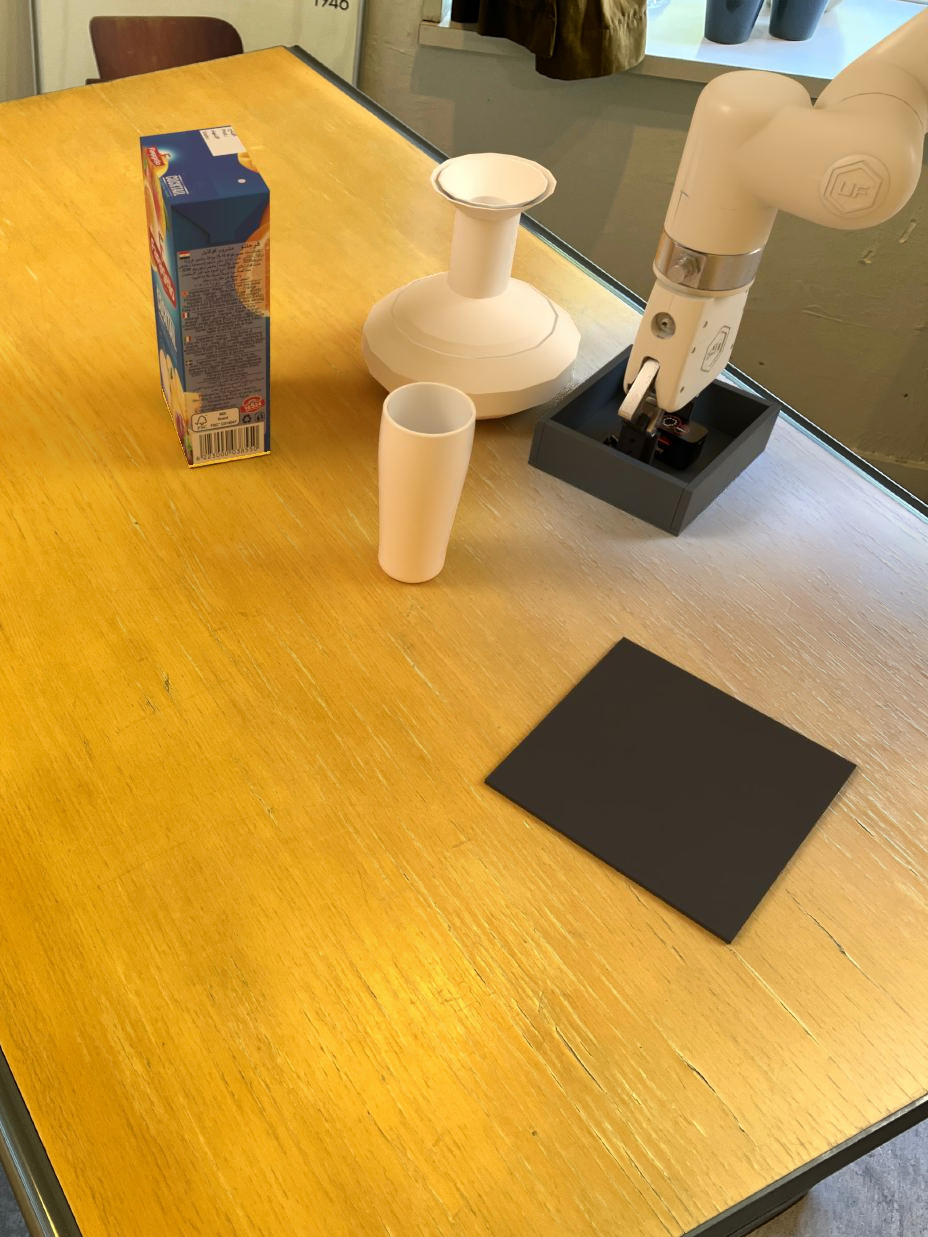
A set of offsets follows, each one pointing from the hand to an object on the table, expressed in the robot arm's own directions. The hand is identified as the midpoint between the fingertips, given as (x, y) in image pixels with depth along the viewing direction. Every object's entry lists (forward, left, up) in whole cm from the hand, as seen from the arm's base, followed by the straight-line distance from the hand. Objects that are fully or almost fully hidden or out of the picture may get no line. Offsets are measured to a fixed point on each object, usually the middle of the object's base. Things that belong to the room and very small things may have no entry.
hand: (649, 446), depth 99 cm
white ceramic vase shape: (+19, +1, -1) cm, 19 cm away
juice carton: (+32, +22, -1) cm, 39 cm away
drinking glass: (+7, +25, -1) cm, 26 cm away
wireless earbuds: (0, 0, -1) cm, 1 cm away
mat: (-19, +30, -1) cm, 36 cm away
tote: (0, 0, -1) cm, 1 cm away
